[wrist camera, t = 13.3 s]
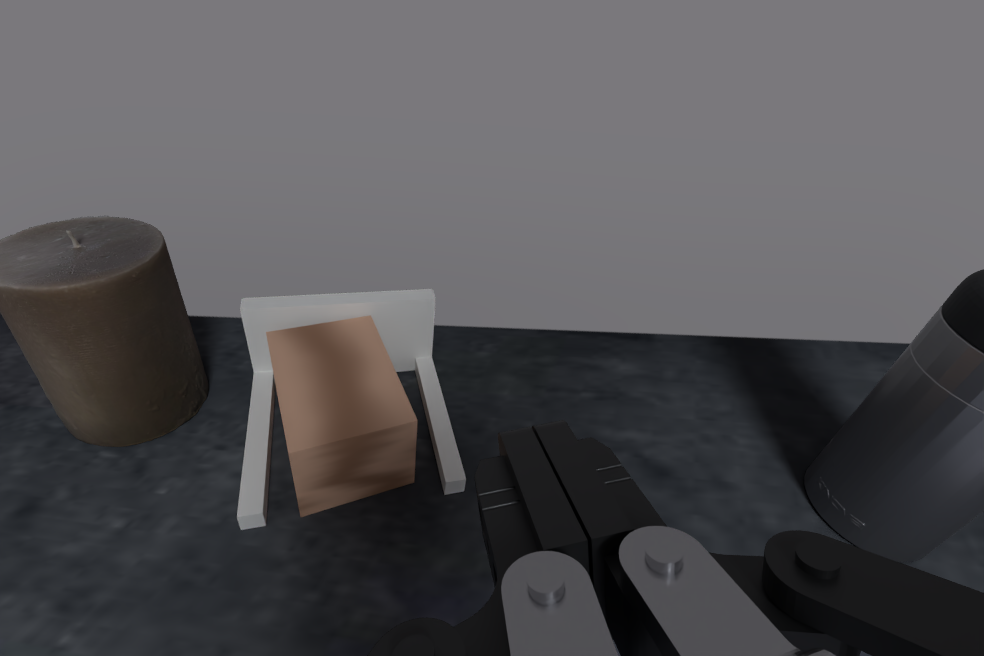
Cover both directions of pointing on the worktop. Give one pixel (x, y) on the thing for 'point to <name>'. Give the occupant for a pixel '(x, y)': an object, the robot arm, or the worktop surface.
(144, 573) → the worktop surface
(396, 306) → the white frame piece
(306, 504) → the wooden block
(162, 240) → the pillar candle
